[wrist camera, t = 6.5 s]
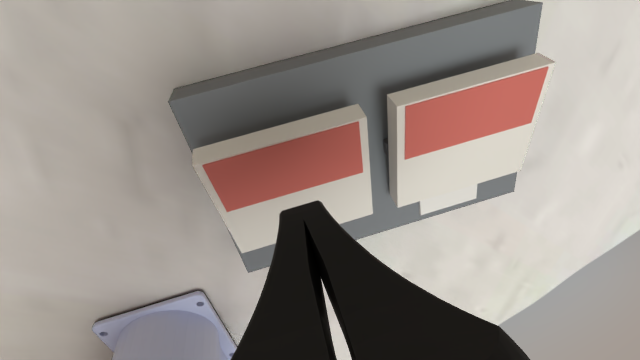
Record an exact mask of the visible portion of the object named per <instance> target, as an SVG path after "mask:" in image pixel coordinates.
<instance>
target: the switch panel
mask: <svg viewBox="0 0 640 360" xmlns="http://www.w3.org/2000/svg"><path fill="white" fill-rule="evenodd" d="M541 10H542V2H534V1H526V0H511V1H507V2H503V3H499V4H495V5H492V6H488V7H484V8H480V9H476V10H472V11H469V12H465V13H461V14H457V15H453V16H450V17H446V18H442V19H438V20H434V21H431V22H427V23H423V24H419V25H415V26H411V27H408V28H404V29H400V30H396V31H392V32H389V33H385V34H381V35H377V36H373V37H370V38H366V39H362V40H358V41H354V42H351V43H347V44H343V45H339V46H335V47H331V48H328V49H324V50H320V51H316V52H312V53H309V54H305V55H301V56H297V57H293V58H290V59H286V60H282V61H278V62H274V63H271V64H267V65H263V66H259V67H255V68H251V69H248V70H244V71H240V72H236V73H232V74H229V75H225V76H221V77H217V78H213V79H210V80H206V81H202V82H198V83H194V84H191V85H187V86H183V87H179V88H175V89H174V90H173V92H172V95H171V97H170V99H169V101H168V102H169V105H170V107H171V109H172V111H173V113H174V115H175V117H176V120H177V122H178V124H179V126H180V128H181V130H182V132H183V134H184V137H185V139H186V141H187V143H188V145H189V147H190V149H191V152H192V154H193V149H196V148H199V147H203V146H206V145H210V144H214V143H217V142H221V141H225V140H228V139H232V138H235V137H239V136H243V135H246V134H250V133H253V132H257V131H261V130H264V129H268V128H272V127H275V126H279V125H282V124H286V123H290V122H293V121H297V120H300V119H304V118H308V117H311V116H315V115H319V114H322V113H326V112H329V111H333V110H337V109H340V108H344V107H348V106H351V105H355V104H359V106H360V107H361V109H362V110H363V112H364V114H365V115H366V117H367V129H368V144H369V160H370V175H371V190H372V206H373V214H371V215H368V216H365V217H361V218H358V219H355V220H351V221H348V222H345V223H341V224H339V225H340V226H341V227H342V228H343V229H344V230H345V231H346V232H347V233H348V234H349V235H350V236H351V237H352V238H353V239H354V240H357V239H360V238H363V237H367V236H370V235H373V234H376V233H380V232H383V231H386V230H390V229H393V228H396V227H399V226H403V225H406V224H409V223H412V222H416V221H419V220H422V219H425V218H429V217H432V216H435V215H439V214H442V213H445V212H448V211H452V210H455V209H458V208H461V207H465V206H468V205H471V204H474V203H478V202H481V201H484V200H487V199H491V198H494V197H497V196H501V195H504V194H507V193H510V192H514V188H515V181H516V175H517V172H515V173H511V174H508V175H505V176H502V177H498V178H495V179H492V180H488V181H485V182H482V183H478V184H475V185H472V186H468V187H465V188H462V189H459V190H455V191H452V192H449V193H445V194H442V195H439V196H435V197H432V198H429V199H425V200H422V201H419V202H416V203H412V204H409V205H406V206H402V207H399V208H397V206H396V204H395V203H394V201H393V199H392V197H391V196H390V186H389V151H388V115H387V94H391V93H394V92H398V91H402V90H405V89H409V88H413V87H416V86H420V85H423V84H427V83H431V82H434V81H438V80H442V79H445V78H449V77H452V76H456V75H460V74H463V73H467V72H470V71H474V70H478V69H481V68H485V67H489V66H492V65H496V64H499V63H503V62H507V61H510V60H514V59H518V58H521V57H525V56H528V55H532V54H535V49H536V43H537V36H538V30H539V23H540V17H541ZM228 231H229V230H228ZM229 233H230V232H229ZM230 235H231V233H230ZM231 237H232V235H231ZM232 239H233V237H232ZM233 241H234V243H235V246H236V248H237V250H238V252H239V254H240V256H241V258H242V260H243V263H244V265H245V267H246V269H247V271H248V273H249V272H252V271H256V270H259V269H262V268H266V267H269V266H270V265H271V262H272V258H273V254H274V249H275V245H276V243H275V244H272V245H268V246H265V247H262V248H259V249H255V250H252V251H249V252H245V253H241V251H240V249H239V248H238V246H237V244H236V242H235V240H234V239H233Z"/></svg>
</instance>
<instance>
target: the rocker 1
mask: <svg viewBox="0 0 640 360" xmlns="http://www.w3.org/2000/svg"><path fill="white" fill-rule="evenodd" d="M192 166H193V168H194V170H195V172H196V173H197V175H198V177H199V179H200V180H201V182H202V184H203V186H204V187H205V189H206V191H207V193H208V194H209V196H210V198H211V200H212V202H213V203H214V205H215V207H216V209H217V210H218V212H219V214H220V216H221V217H222V219H223V221H224V223H225V225H226V226H227V228H228V230H229V232H230V233H231V235H232V237H233V239H234V240H235V242H236V244H237V246H238V248H239V249H240V251H241V253H245V252H249V251H252V250H255V249H259V248H262V247H265V246H268V245H272V244H275V243H276V240H277V235H278V228H279V214H280V213H281V211H283V210H286V209H290V208H293V207H296V206H300V205H303V204H307V203H310V202H313V201H317V200H319V201H321V202H322V203H323V205H324V207H325V208H326V209H327V211H328V212H329V213H330V214H331V216H332V217H333V218H334V219H335V220H336V221H337V223H338V224H341V223H345V222H348V221H351V220H355V219H358V218H361V217H365V216H368V215H371V214H373V206H372V190H371V175H370V160H369V144H368V129H367V117H366V115H365V114H364V112H363V110H362V109H361V107H360V106H359V104H355V105H351V106H348V107H344V108H340V109H337V110H333V111H329V112H326V113H322V114H319V115H315V116H311V117H308V118H304V119H300V120H297V121H293V122H290V123H286V124H282V125H279V126H275V127H272V128H268V129H264V130H261V131H257V132H253V133H250V134H246V135H243V136H239V137H235V138H232V139H228V140H225V141H221V142H217V143H214V144H210V145H206V146H203V147H199V148H196V149H193V158H192Z"/></svg>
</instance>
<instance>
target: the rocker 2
mask: <svg viewBox="0 0 640 360" xmlns="http://www.w3.org/2000/svg"><path fill="white" fill-rule="evenodd" d="M555 64H556V62H555V61H553V60H551V59H549V58H547V57H545V56H543V55H542V54H540V53H536V54H532V55H528V56H525V57H521V58H518V59H514V60H510V61H507V62H503V63H499V64H496V65H492V66H489V67H485V68H481V69H478V70H474V71H470V72H467V73H463V74H460V75H456V76H452V77H449V78H445V79H442V80H438V81H434V82H431V83H427V84H423V85H420V86H416V87H413V88H409V89H405V90H402V91H398V92H394V93H391V94H387V115H388V151H389V186H390V196H391V197H392V199H393V201H394V203H395V204H396V206H397V208H399V207H402V206H406V205H409V204H412V203H416V202H419V201H422V200H425V199H429V198H432V197H435V196H439V195H442V194H445V193H449V192H452V191H455V190H459V189H462V188H465V187H468V186H472V185H475V184H478V183H482V182H485V181H488V180H492V179H495V178H498V177H502V176H505V175H508V174H511V173H515V172H518V171H521V168H522V165H523V162H524V159H525V156H526V153H527V150H528V147H529V144H530V141H531V138H532V135H533V132H534V128H535V125H536V122H537V119H538V116H539V113H540V110H541V107H542V104H543V101H544V98H545V95H546V92H547V89H548V85H549V82H550V79H551V76H552V73H553V70H554V67H555Z"/></svg>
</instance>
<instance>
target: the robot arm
mask: <svg viewBox="0 0 640 360" xmlns="http://www.w3.org/2000/svg"><path fill="white" fill-rule="evenodd" d="M321 279H322V281H323V284H324V286H325V289H326V291H327V294H328V297H329V299H330V302H331V304H332V307H333V309H334V312H335V314H336V317H337V319H338V322H339V324H340V327H341V329H342V332H343V334H344V337H345V340H346V342H347V345H348V348H349V351H350V355H351V358H352V360H530V359H529V358H528V356H527V355H526V354H525V353H524V352H523V350H522V349H521V348H520V347H519V346H518V345H517V344H516V343H515V342H514V341H513V340H512V339H511V338H510V337H509V336H508V335H507V334H506V333H505V332H504V331H503V330H502V329H501V328H500V327H499V326H497V325H495V324H492V323H490V322H488V321H485V320H483V319H481V318H478V317H476V316H474V315H472V314H470V313H467V312H465V311H463V310H461V309H459V308H457V307H455V306H453V305H451V304H449V303H447V302H445V301H443V300H441V299H439V298H437V297H436V296H434V295H432V294H430V293H429V292H427V291H425V290H424V289H422V288H420V287H418V286H417V285H415V284H413V283H411V282H410V281H408V280H407V279H405V278H404V277H402V276H401V275H399V274H398V273H396V272H395V271H393V270H392V269H390V268H389V267H388V266H386V265H385V264H383V263H382V262H381V261H379V260H378V259H377V258H375V257H374V256H373V255H372V254H370V253H369V252H368V251H367V250H366V249H365V248H363V247H362V246H361V245H360V244H359V243H358V242H357V241H356V240H354V239H353V238H352V237H351V236H350V235H349V234H348V233H347V232H346V231H345V230H344V229H343V228H342V227H341V226H340V225H339V224H338V223H337V221H336V220H335V219H334V218H333V217H332V216H331V214H330V213H329V212H328V211H327V209H326V208H325V207H324V205H323V203H322V202H321V201H319V200H317V201H313V202H310V203H307V204H303V205H300V206H296V207H293V208H290V209H286V210H283V211H281V213H280V214H279V228H278V235H277V240H276V245H275V249H274V254H273V258H272V262H271V265H270V269H269V272H268V275H267V279H266V282H265V285H264V288H263V291H262V293H261V296H260V299H259V301H258V304H257V306H256V309H255V311H254V313H253V316H252V318H251V320H250V322H249V324H248V327H247V329H246V331H245V333H244V335H243V337H242V339H241V341H240V343H239V345H238V347H236V345H235V343H234V342H233V340H232V338H231V337H230V335H229V333H228V332H227V330H226V328H225V327H224V325H223V324H222V322H221V320H220V319H219V317H218V315H217V314H216V312H215V310H214V309H213V307H212V305H211V304H210V302H209V300H208V299H207V297H206V296H205V294H204V293H203V292H201V291H196V292H192V293H189V294H186V295H183V296H179V297H176V298H173V299H170V300H166V301H163V302H160V303H157V304H153V305H150V306H147V307H144V308H140V309H137V310H134V311H130V312H127V313H124V314H121V315H117V316H114V317H111V318H108V319H104V320H101V321H98V322H96V323H94V325H93V327H92V331H93V332H94V333H95V334H96V335H97V336H98V337H99V338H100V339H101V340H102V341H103V342H104V343H105V344H106V345H107V346H108V347H109V348H110V349H111V350H112V351H113V352H114V354H113V358H112V360H337V359H336V355H335V351H334V347H333V342H332V337H331V332H330V326H329V321H328V315H327V310H326V304H325V298H324V293H323V287H322V282H321Z"/></svg>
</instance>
